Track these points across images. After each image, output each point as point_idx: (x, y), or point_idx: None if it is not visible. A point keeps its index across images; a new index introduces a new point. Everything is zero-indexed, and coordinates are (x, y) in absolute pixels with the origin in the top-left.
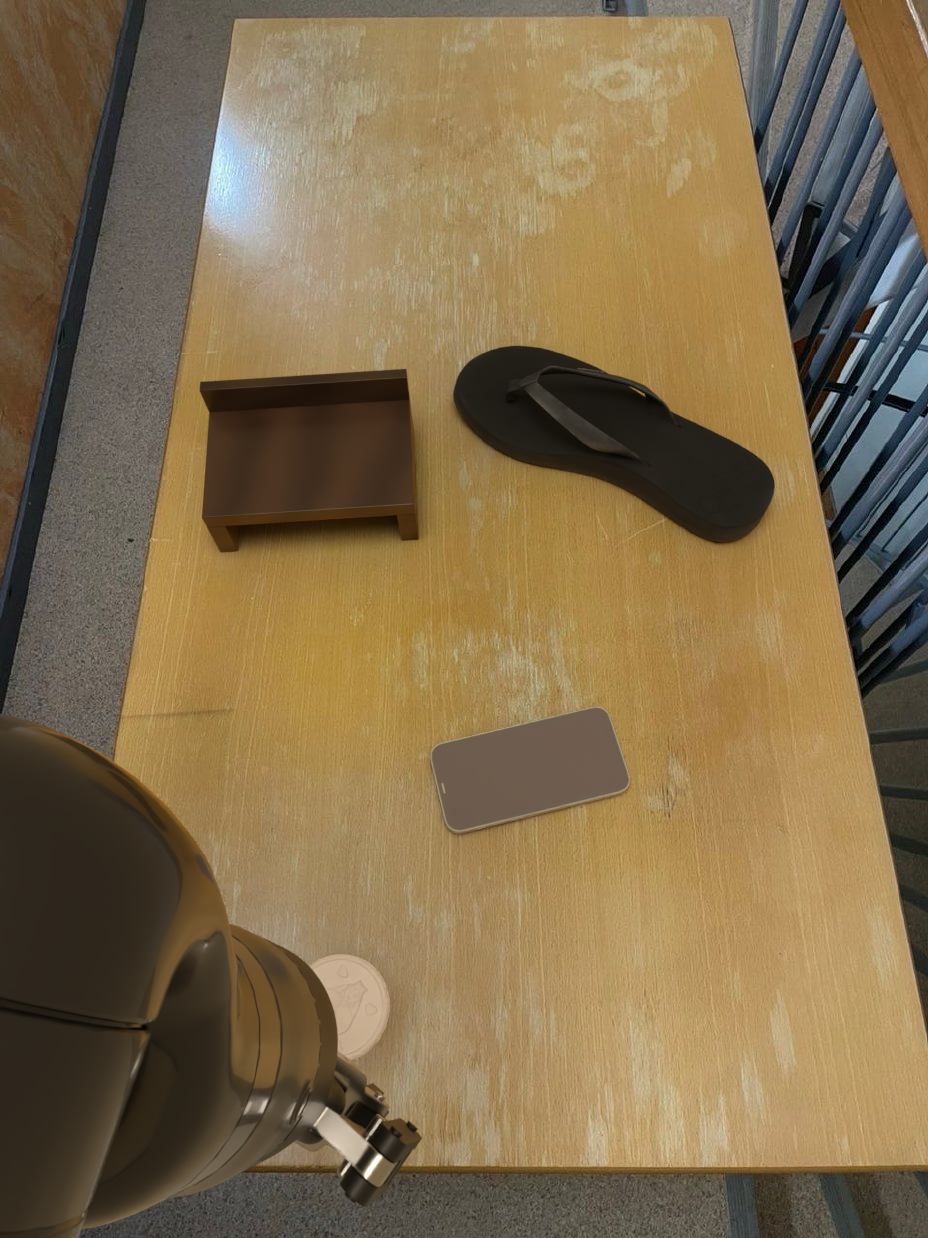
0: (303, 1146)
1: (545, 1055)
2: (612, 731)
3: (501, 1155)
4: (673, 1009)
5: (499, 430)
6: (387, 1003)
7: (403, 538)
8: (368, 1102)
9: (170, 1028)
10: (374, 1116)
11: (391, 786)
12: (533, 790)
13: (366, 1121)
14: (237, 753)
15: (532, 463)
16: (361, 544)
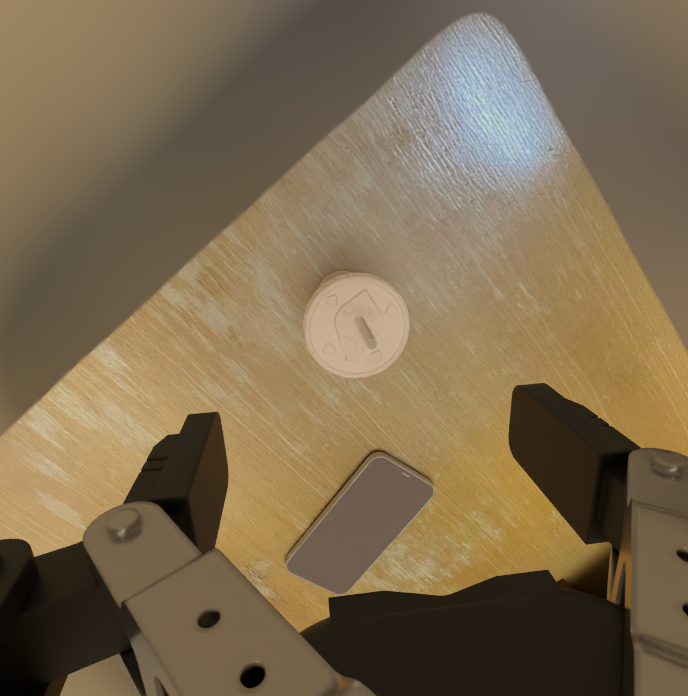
0: (146, 632)
1: (190, 377)
2: (324, 587)
3: (159, 294)
4: (138, 469)
5: None
6: (319, 364)
7: (562, 582)
8: (137, 691)
9: None
10: (111, 652)
11: (442, 442)
12: (344, 519)
13: (118, 630)
14: (573, 376)
15: None
16: (588, 556)
